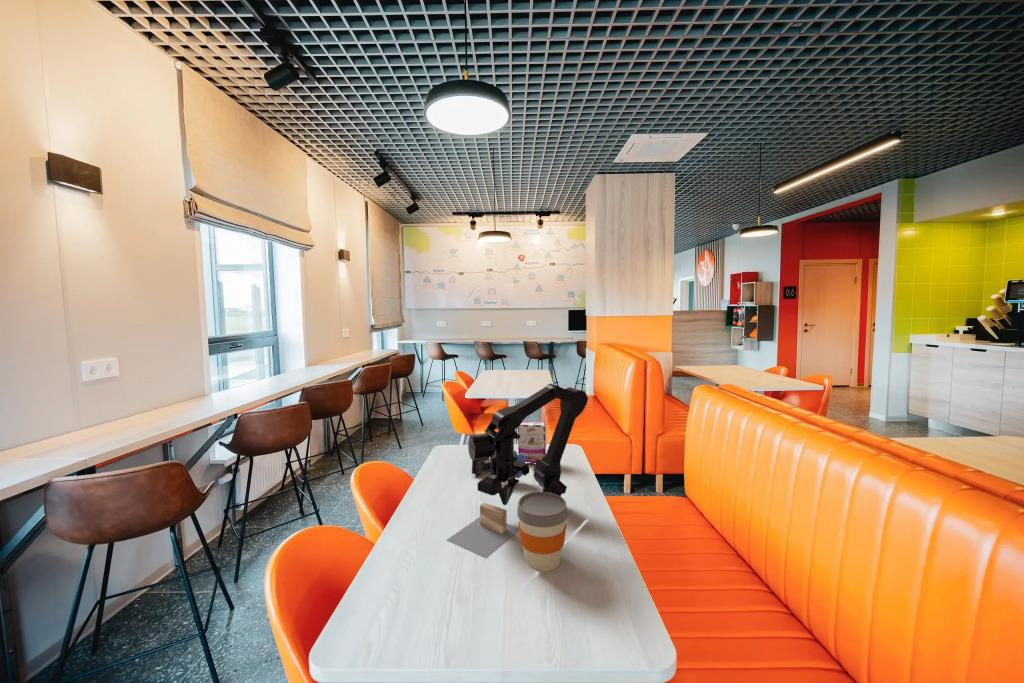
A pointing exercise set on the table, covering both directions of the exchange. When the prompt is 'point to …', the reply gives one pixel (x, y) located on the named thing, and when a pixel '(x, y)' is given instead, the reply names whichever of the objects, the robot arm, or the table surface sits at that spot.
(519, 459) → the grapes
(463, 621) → the table surface
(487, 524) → the maple tile
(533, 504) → the reusable coffee cup
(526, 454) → the candy bar box
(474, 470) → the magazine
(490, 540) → the slate mat
